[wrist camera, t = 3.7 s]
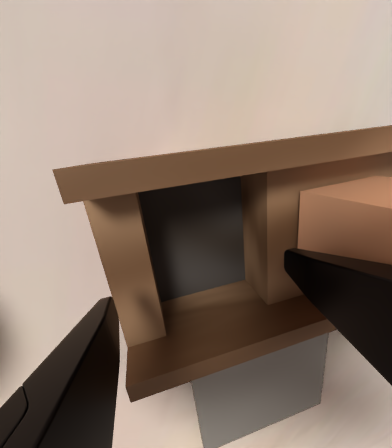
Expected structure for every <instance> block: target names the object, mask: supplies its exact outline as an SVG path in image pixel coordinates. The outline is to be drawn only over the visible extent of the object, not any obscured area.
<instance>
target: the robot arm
mask: <svg viewBox="0 0 392 448" xmlns="http://www.w3.org/2000/svg"><path fill="white" fill-rule="evenodd" d="M284 269H285V271H286V273H287V274H288V275H289V276H290V278H291V279H292V280H293V281H294V283H295V284H296V285H297V286H298V288H299V289H300V290H301V291H302V293H303V294H304V295H305V296H306V297H307V298H308V300H309V301H310V302H311V303H312V304H313V305H314V306H315V307H316V308H317V309H318V310H319V311H320V312H321V313H322V314H323V315H324V316H325V317H326V318H327V319H328V320H329V321H330V322H331V323H332V324H333V325H334V326H335V328H336V329H337V330H338V331H339V332H340V333H341V334H342V335H343V336H344V337H345V338H346V339H347V340H348V341H349V342H350V343H351V344H352V345H353V346H354V347H355V348H356V349H357V350H358V351H359V352H360V353H361V354H362V355H363V356H364V357H365V358H366V359H367V360H368V362H369V363H370V364H371V365H372V366H373V367H374V368H375V369H376V370H377V371H378V372H379V373H380V374H381V375H382V376H383V377H384V378H385V379H386V380H387V381H388V382H389V383H390V384H391V385H392V265H390V264H385V263H379V262H373V261H368V260H362V259H356V258H350V257H344V256H339V255H333V254H327V253H321V252H315V251H309V250H304V249H298V248H291V249H287V250H285V252H284ZM119 364H120V345H119V317H118V313H117V309H116V306H115V303H114V300H113V298H112V297H106V298H103V299H100V300H99V301H98V302H97V303H96V304H95V305H94V306H93V307H92V309H91V310H90V311H89V312H88V313H87V314H86V315H85V316H84V317H83V318H82V320H81V321H80V322H79V323H78V324H77V325H76V326H75V327H74V328H73V329H72V330H71V332H70V333H69V334H68V335H67V336H66V337H65V338H64V339H63V340H62V341H61V342H60V344H59V345H58V346H57V347H56V348H55V349H54V350H53V351H52V352H51V353H50V354H49V356H48V357H47V358H46V359H45V360H44V361H43V362H42V363H41V364H40V365H39V366H38V368H37V369H36V370H35V371H34V372H33V373H32V374H31V375H30V376H29V377H28V378H27V380H26V381H25V382H24V383H23V386H21V387H19V388H18V389H17V390H16V391H15V393H14V394H13V395H12V396H11V397H10V398H9V399H8V400H7V401H6V402H5V403H4V404H3V406H2V407H1V408H0V448H112V440H113V430H114V419H115V408H116V397H117V387H118V376H119Z"/></svg>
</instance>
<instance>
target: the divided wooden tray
mask: <svg viewBox="0 0 392 448" xmlns="http://www.w3.org/2000/svg"><path fill="white" fill-rule="evenodd" d="M53 173H54V176H55V179H56V182H57V185H58V188H59V191H60V194H61V197H62V200H63V203H64V204H68V203H74V202H80V201H83V202H84V205H85V209H86V212H87V215H88V219H89V222H90V225H91V228H92V232H93V235H94V238H95V242H96V245H97V248H98V251H99V255H100V258H101V261H102V265H103V268H104V271H105V274H106V278H107V281H108V284H109V288H110V291H111V294H112V297H113V300H114V303H115V306H116V309H117V313H118V317H119V321H120V324H121V327H122V330H123V334H124V337H125V340H126V344H127V347H128V352H127V371H126V390H127V393H128V396H129V399H130V402H134V401H137V400H140V399H142V398H145V397H148V396H151V395H154V394H156V393H159V392H162V391H165V390H168V389H171V388H173V387H176V386H179V385H182V384H185V383H188V382H190V381H193V380H196V379H199V378H202V377H204V376H207V375H210V374H213V373H216V372H219V371H221V370H224V369H227V368H230V367H233V366H236V365H238V364H241V363H244V362H247V361H250V360H252V359H255V358H258V357H261V356H264V355H267V354H269V353H272V352H275V351H278V350H281V349H284V348H286V347H289V346H292V345H295V344H298V343H300V342H303V341H306V340H309V339H312V338H315V337H317V336H320V335H323V334H326V333H329V332H332V331H334V330H337V329H336V328H335V326H334V325H333V324H332V323H331V322H330V321H329V320H328V319H327V318H326V317H325V316H324V315H323V314H322V313H321V312H320V311H319V310H318V309H317V308H316V307H315V306H314V305H313V304H312V303H311V302H310V301H309V300H308V298H307V297H306V296H305V295H304V294H303V293H302V291H301V290H300V289H299V288H298V286H297V285H296V284H295V283H294V281H293V280H292V279H291V278H290V276H289V275H288V274H287V273H286V271H285V269H284V252H285V250H287V249H291V248H298V229H299V208H300V191H303V190H308V189H313V188H318V187H323V186H328V185H333V184H338V183H343V182H348V181H352V180H357V179H362V178H367V177H372V176H385V177H392V125H390V126H382V127H374V128H366V129H358V130H351V131H343V132H335V133H327V134H319V135H311V136H304V137H296V138H288V139H280V140H272V141H264V142H256V143H249V144H241V145H233V146H225V147H217V148H209V149H202V150H194V151H186V152H178V153H170V154H162V155H154V156H147V157H139V158H131V159H123V160H115V161H107V162H100V163H92V164H85V165H79V166H73V167H66V168H60V169H54V170H53Z"/></svg>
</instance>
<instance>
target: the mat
mask: <svg viewBox="0 0 392 448" xmlns="http://www.w3.org/2000/svg"><path fill="white" fill-rule="evenodd" d="M328 334H329V333H326V334H323V335H320V336H317V337H315V338H312V339H309V340H306V341H303V342H300V343H298V344H295V345H292V346H289V347H286V348H284V349H281V350H278V351H275V352H272V353H269V354H267V355H264V356H261V357H258V358H255V359H252V360H250V361H247V362H244V363H241V364H238V365H236V366H233V367H230V368H227V369H224V370H221V371H219V372H216V373H213V374H210V375H207V376H204V377H202V378H199V379H196V380H193V381H191V383H192V388H193V394H194V399H195V405H196V410H197V416H198V421H199V427H200V432H201V438H202V442H203V447H204V448H218V447H220V446H223V445H225V444H227V443H230V442H232V441H234V440H237V439H239V438H241V437H244V436H246V435H248V434H251V433H253V432H255V431H258V430H260V429H262V428H265V427H267V426H269V425H272V424H274V423H276V422H278V421H281V420H283V419H285V418H288V417H290V416H292V415H295V414H297V413H299V412H302V411H304V410H306V409H309V408H311V407H313V406H316V405H318V404H320V401H321V393H322V384H323V376H324V367H325V359H326V350H327V342H328Z"/></svg>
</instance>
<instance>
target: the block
mask: <svg viewBox="0 0 392 448" xmlns="http://www.w3.org/2000/svg"><path fill="white" fill-rule="evenodd" d="M298 249H304V250H309V251H315V252H321V253H327V254H333V255H339V256H344V257H350V258H356V259H362V260H368V261H373V262H379V263H385V264H390V265H392V177H385V176H372V177H367V178H362V179H357V180H352V181H348V182H343V183H338V184H333V185H328V186H323V187H318V188H313V189H308V190H303V191H300V208H299V229H298Z"/></svg>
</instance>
